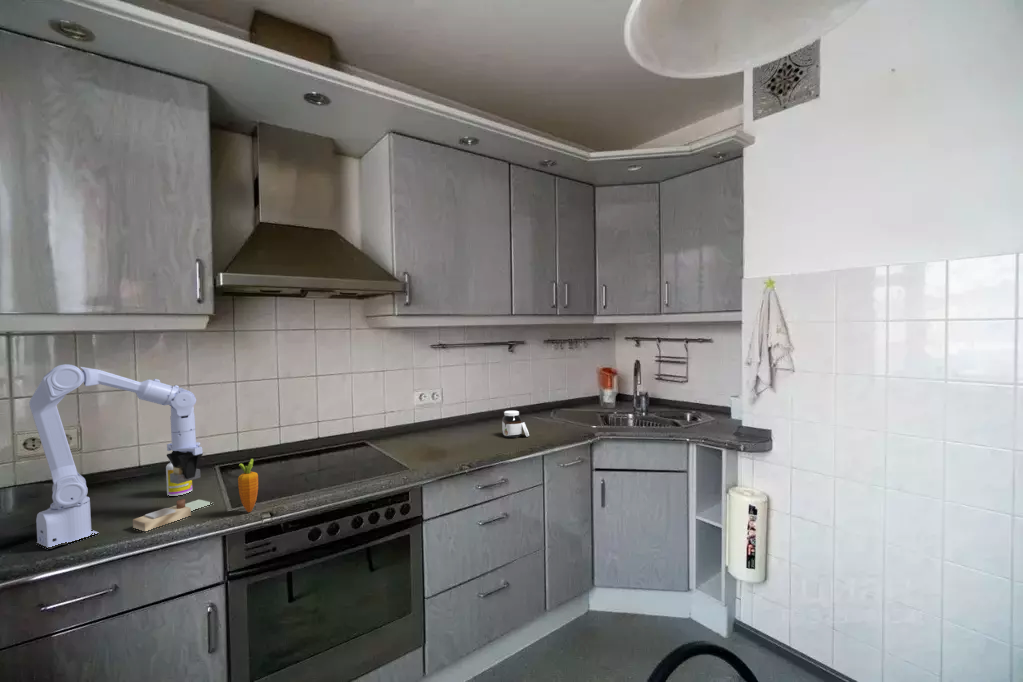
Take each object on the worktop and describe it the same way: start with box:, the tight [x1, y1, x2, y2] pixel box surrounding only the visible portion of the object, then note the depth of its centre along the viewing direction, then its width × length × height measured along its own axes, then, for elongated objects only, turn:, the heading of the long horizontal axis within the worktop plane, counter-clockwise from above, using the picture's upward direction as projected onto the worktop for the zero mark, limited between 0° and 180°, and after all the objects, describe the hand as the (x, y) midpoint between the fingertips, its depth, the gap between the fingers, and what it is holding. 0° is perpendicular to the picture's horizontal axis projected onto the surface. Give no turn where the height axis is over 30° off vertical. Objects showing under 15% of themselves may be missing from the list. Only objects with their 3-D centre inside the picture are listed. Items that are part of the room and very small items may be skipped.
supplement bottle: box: [165, 460, 193, 497], centre depth 147 cm, size 7×7×13 cm
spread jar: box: [501, 410, 530, 439], centre depth 212 cm, size 12×11×12 cm
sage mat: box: [185, 499, 213, 512], centre depth 135 cm, size 8×8×1 cm
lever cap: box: [170, 466, 201, 484], centre depth 132 cm, size 6×4×4 cm, turn 153°
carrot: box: [237, 458, 259, 513], centre depth 129 cm, size 5×5×15 cm
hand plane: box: [132, 498, 192, 531], centre depth 124 cm, size 11×6×4 cm, turn 153°
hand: (185, 476), depth 132 cm, fingers closed on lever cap, 4 cm apart
